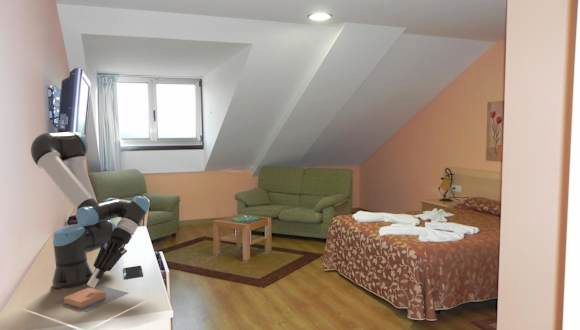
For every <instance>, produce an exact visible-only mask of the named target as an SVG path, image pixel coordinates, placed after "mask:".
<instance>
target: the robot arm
mask: <svg viewBox="0 0 580 330" xmlns="http://www.w3.org/2000/svg"><path fill="white" fill-rule="evenodd" d="M88 149H89V145H88V141H87V139H86V137H85V136H84V135H82V134H81V133H79V132H76V131H62V132H60V131H58V132H45V133H42V134H39V135H38V136H37V137H35V139H34V140H33V141H32V143H31V146H30V153H31V154H30V155H31V158H32V160H33V162H34V163H35V164H36V165H37V167H38V168H39V169H42V170H44V172H45V173H46V174H47V175H48V176H49V177H50V179H51V180H52V181H53V182H54V183H55V185H56V186H57V187H58V189H59V190H60V191H61V192H62V194H63V195H64V196H65V198H67V199H68V201H69V202H70V203H71V205H72V206H73V207H74V208H75V209H76V213H75V218H76V221H77V223H72V224H70V225H64V226H62V227H60V228H58V229H56V230H55V232H54V233H53V235H52V236H53V237H52V239H53V240H52V241H53V242H52V244H53V251H54V259H55V260H54V261H55V269H54V273H53V277H52V282H51V283H52V287H53V288H54V289H56V290H61V289H71V288H76V287H80V286H84V285H87V286H88V287H89V288H95V286H97V284H98V283H99V281H100V280H101V279H102V277H103V275H104V274H105V273H106V272H111V270H112V269H113V268H114V267H115V265H116V264H117V263H118V262H119V261H120V259H121V258H122V257H123V256H124V255H125V254H126V253H127V252H128V250H127V249H126V248H125V247H126V245H128V244H129V242H131V239H132V238H133V236H134V234H135V233H136V231H137V229H138V228H139V226H140V224H141V222H142V221H143V219H144V218H145V216H146V214H147V213H148V211H149V209H150V206H151V202H150V201H149V200H148V199H147V198H145V197H143V196H140V195H136V196H134V197H133V198H132V199H131V200H127V199H121V198H117V197H109V198H107V199H106V200H104V201H103V202H98V201H97V197H96V193H95V192H94V188H93V185H92V183H91V180H90V176H89V174H88V172H87V169H86V165H85V161H86V159H87V157H86V155H87V154H88V151H89V150H88ZM117 218H120V220H119V221H118V223H117V224H115V222H114V221H113V219H117ZM96 250H99V251H98V254H97V256H96V257H95V260H94V263H93V267H94V271H93V270H92V269H91V267H90V265H89V262H88V254H87V253H90V252H93V251H96Z"/></svg>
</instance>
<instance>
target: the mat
mask: <svg viewBox="0 0 580 330" xmlns="http://www.w3.org/2000/svg"><path fill="white" fill-rule="evenodd" d="M93 289H97V290H100V291H104V292H106V298H104V299H102V300H100V301H97V302H95V303H93V304H91V305H88V306H86V307H84V308H79V307H76V306H72V305H69V304H66V303H64V298H63V299H60V300H58V301H56V302H55V303H56V304H59V305H62V306H65V307H69V308H72V309H74V310H78V311H80V312H81V311H82V312H84V313H88V312H90V311H92V310H95V309H98V308H99V307H101V306H103V305H106V304H108V303H110V302H112V301H115V300H117V299H119V298H121V297H124V296H125V295H128V294H129V292H127V291H123V290H119V289H115V288H112V287H107V286H104V285H100V284H98V285H96V286H95V288H93Z"/></svg>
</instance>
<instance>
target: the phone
mask: <svg viewBox="0 0 580 330" xmlns="http://www.w3.org/2000/svg"><path fill="white" fill-rule="evenodd" d="M122 274H123V280H131V279H136V278H144V272H143V268H142V265H135V266H130V267H128V266H127V267H124V268H122Z"/></svg>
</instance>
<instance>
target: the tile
mask: <svg viewBox="0 0 580 330" xmlns="http://www.w3.org/2000/svg"><path fill="white" fill-rule="evenodd" d="M104 298H106V292H104V291H100V290H97V289H93V288H92V287H90V286H88V287H86V288H83V289H81V290H78V291H76V292H74V293H70V294H69V295H68V294H67V295H66V296H64V297H63V299H64V303H66V304H69V305H72V306H76V307H79V308H84V307H86V306H88V305H91V304H93V303H95V302H97V301H100V300H102V299H104Z"/></svg>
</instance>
